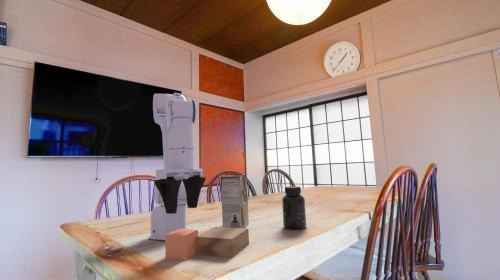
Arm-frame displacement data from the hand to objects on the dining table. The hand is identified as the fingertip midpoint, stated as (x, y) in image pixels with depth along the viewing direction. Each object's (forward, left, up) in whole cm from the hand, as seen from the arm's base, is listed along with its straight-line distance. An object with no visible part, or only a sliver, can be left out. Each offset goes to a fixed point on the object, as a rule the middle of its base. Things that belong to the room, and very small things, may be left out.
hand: (182, 210), depth 55 cm
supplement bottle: (+19, +29, -10) cm, 36 cm away
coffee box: (+1, +26, -10) cm, 28 cm away
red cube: (0, 0, -10) cm, 10 cm away
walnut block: (+7, +6, -10) cm, 13 cm away
